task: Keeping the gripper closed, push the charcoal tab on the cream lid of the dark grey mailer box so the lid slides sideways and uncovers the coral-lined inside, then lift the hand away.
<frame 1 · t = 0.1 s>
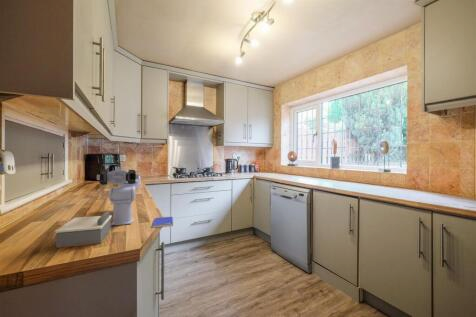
hand: (114, 177, 77), 22 cm above the table, tool horizontal, fingers open, 7 cm apart
mailer lid: (87, 220, 76), point 6 cm above the table, slide at 0.0 cm
hard drive: (163, 224, 95), on the table
mailer box: (86, 237, 76), on the table
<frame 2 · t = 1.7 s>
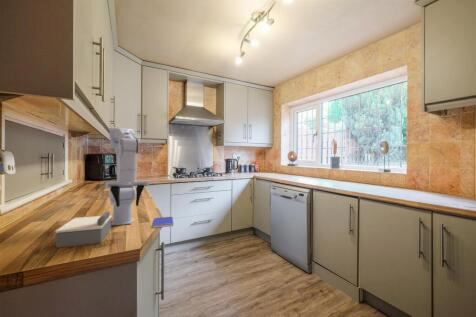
hand: (127, 205, 81), 10 cm above the table, tool pointing down, fingers open, 6 cm apart
nothing on the table moved.
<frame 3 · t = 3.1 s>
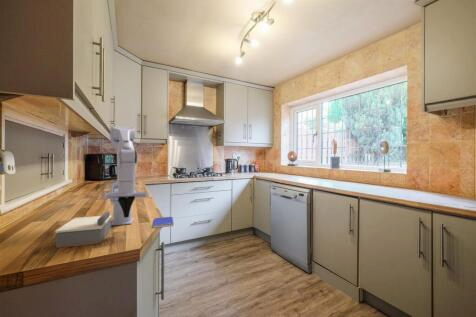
hand: (126, 216, 81), 6 cm above the table, tool pointing down, fingers closed
nothing on the table moved.
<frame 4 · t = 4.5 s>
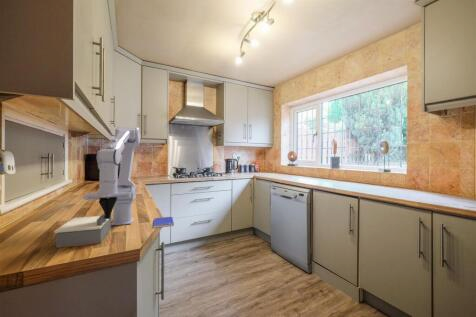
hand: (108, 218, 79), 6 cm above the table, tool pointing down, fingers closed
mailer lid: (86, 220, 76), point 6 cm above the table, slide at 0.3 cm, touching gripper
everything else where it was.
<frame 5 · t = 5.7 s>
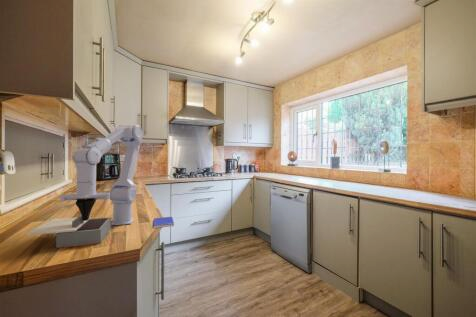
hand: (85, 219, 76), 6 cm above the table, tool pointing down, fingers closed
mailer lid: (62, 221, 74), point 6 cm above the table, slide at 7.2 cm, touching gripper
everything else where it was.
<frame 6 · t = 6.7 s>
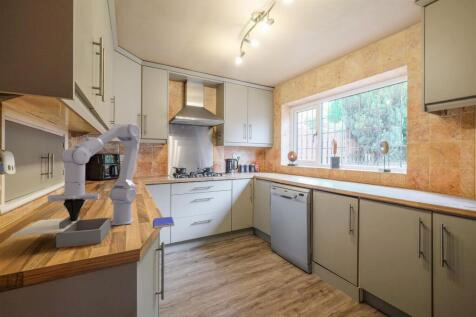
hand: (74, 220, 75), 6 cm above the table, tool pointing down, fingers closed
mailer lid: (50, 222, 73), point 6 cm above the table, slide at 10.6 cm, touching gripper
everything else where it was.
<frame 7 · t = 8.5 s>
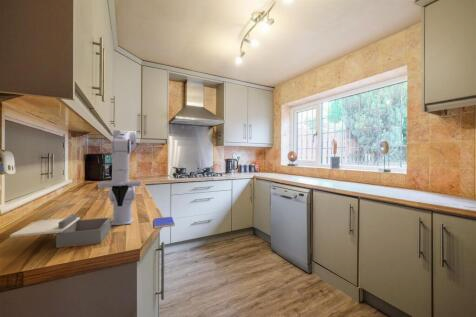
hand: (120, 205, 81), 10 cm above the table, tool pointing down, fingers closed
mailer lid: (49, 222, 73), point 6 cm above the table, slide at 10.8 cm
everything else where it was.
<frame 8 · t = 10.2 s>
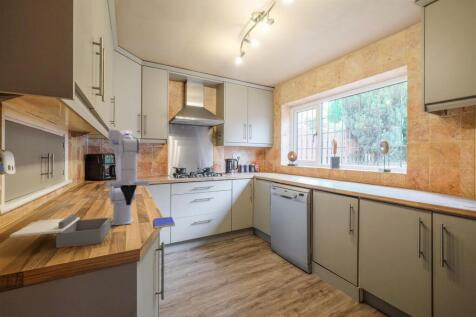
hand: (128, 204, 82), 10 cm above the table, tool pointing down, fingers closed
nothing on the table moved.
at the end: mailer lid slide at 10.8 cm; hard drive moved 1.0 cm from its start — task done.
